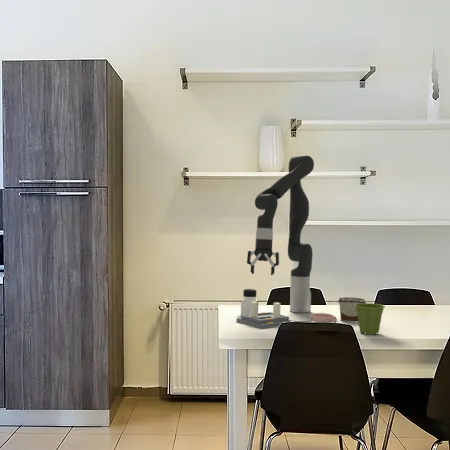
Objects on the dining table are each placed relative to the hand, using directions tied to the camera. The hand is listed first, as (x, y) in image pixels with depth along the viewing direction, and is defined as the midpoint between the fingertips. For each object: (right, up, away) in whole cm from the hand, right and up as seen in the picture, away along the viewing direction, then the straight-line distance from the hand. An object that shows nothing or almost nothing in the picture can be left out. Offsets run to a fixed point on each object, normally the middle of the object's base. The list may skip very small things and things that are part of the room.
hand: (262, 274), depth 254 cm
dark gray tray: (+1, -20, -10) cm, 22 cm away
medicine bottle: (-5, -20, +9) cm, 22 cm away
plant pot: (+41, -22, -26) cm, 53 cm away
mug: (+24, -21, -20) cm, 38 cm away
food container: (+40, -21, 0) cm, 45 cm away
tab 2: (+5, -18, -10) cm, 22 cm away
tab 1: (-4, -18, -9) cm, 21 cm away
